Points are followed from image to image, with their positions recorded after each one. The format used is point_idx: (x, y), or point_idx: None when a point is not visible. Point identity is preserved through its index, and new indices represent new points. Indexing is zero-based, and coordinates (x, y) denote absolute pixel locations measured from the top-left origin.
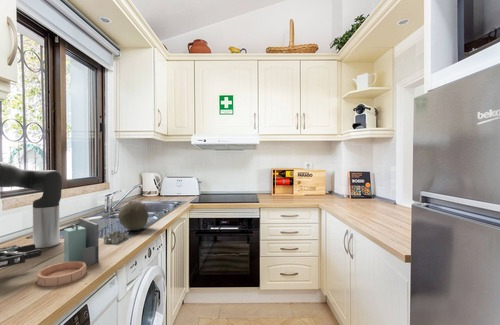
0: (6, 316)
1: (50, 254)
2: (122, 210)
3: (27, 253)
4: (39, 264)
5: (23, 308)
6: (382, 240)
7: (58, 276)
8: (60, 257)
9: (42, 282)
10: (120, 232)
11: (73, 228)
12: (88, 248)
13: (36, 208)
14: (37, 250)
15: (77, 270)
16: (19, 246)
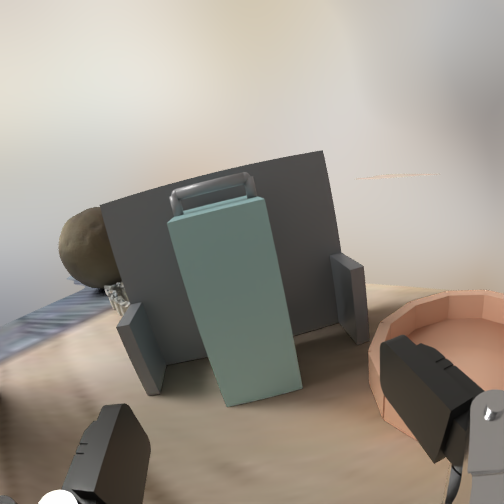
0: None
1: (63, 434)
2: (78, 231)
3: (465, 403)
4: (169, 494)
5: None
6: (408, 176)
7: None
8: (148, 416)
9: None
10: (122, 285)
11: (202, 209)
12: (353, 260)
13: None
14: (416, 345)
15: (494, 295)
16: (69, 499)
